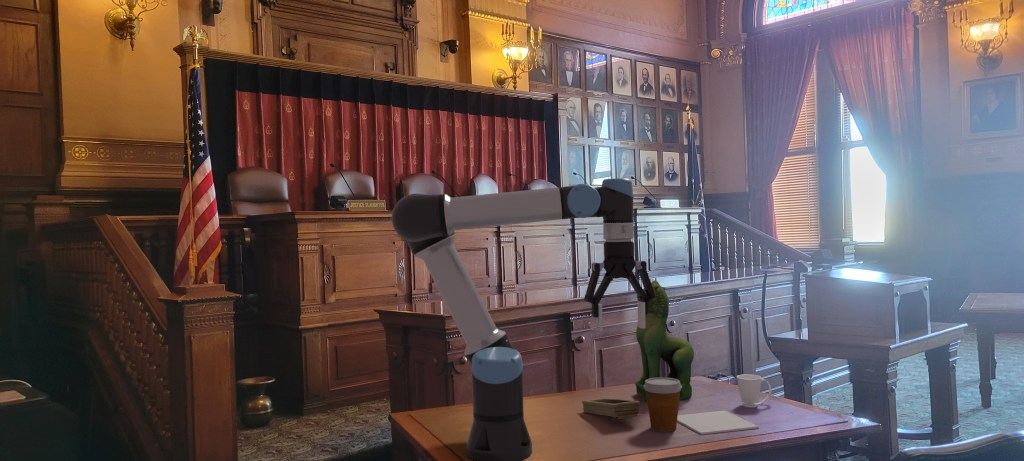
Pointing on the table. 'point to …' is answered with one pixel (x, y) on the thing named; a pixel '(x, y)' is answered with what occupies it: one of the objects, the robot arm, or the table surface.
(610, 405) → the box
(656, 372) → the lion statue
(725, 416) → the felt mat
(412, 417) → the table surface
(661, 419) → the disposable coffee cup
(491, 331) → the robot arm
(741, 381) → the cup
